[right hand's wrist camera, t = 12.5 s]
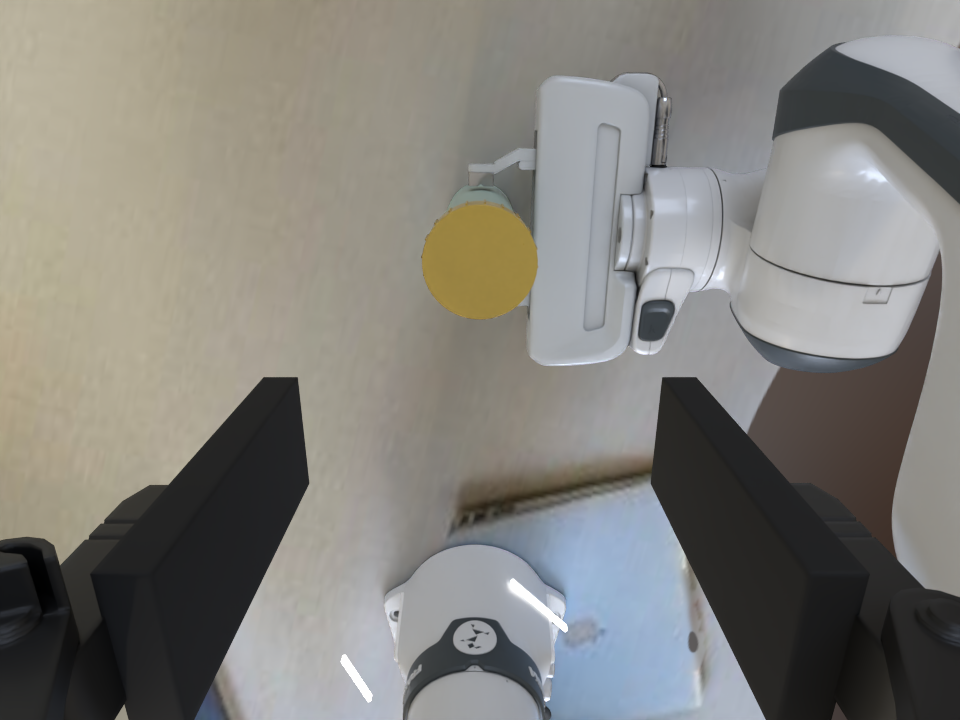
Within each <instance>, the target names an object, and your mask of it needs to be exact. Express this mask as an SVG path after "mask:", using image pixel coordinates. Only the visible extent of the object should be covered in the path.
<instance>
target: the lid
mask: <svg viewBox="0 0 960 720" xmlns="http://www.w3.org/2000/svg"><path fill="white" fill-rule="evenodd" d="M434 224H435V225H434V226H433V228H432V230H431V232H430V234H429V235H427V237H426V239H425V240H426V243H425V246H424V250H423V254H422V256H421V258H422V269H423V276H424V278H425V281H426V284H427V286H428V288H429V290H430V292H431V293H432V295H433V296H434V297H435V299H436V300H437V301H438V302H439V303H440V304H441V305H442V306H443V307H445V308H446V309H448V310H449V311H451V312H453V313H454V314H457V315H459V316H462V317H466V318H470V319H490V318H494V317H498V316H501V315H503V314H506V313H507V312H509V311H511V310H512V309H514V308H515V307H517V306H518V305H519V304H520V303H521V302H522V301H523V300H524V299H525V297H526V296H527V295H528V293H529V292H530V290H531V288H532V286H533V284H534V281H535V278H536V275H537V268H538V256H537V250H538V248H537V246H536V244H535V243H534V240H533V238H532V236H531V234H530V233H531V230H530V228H529V227H528V228H527V226H526V225H525V223H524V222H523V221H522V220H521V219H520V216H519V214H518V213H517V214H515V213H514V212H513V211H511V210H510V209H508V208H506V207H505V206H504V204H501V205H500V204H498V203H494V202H489V201H486V199H484V201H471V202H468V201H466V203H463V204H460V205H458V206H455V207H453V208H451V207H450V208H449V210H448V211H447V212H446V213H445V214H444V215H442V216H441V217H440V219H439V220H438V219H437V220H436V221H435V223H434Z"/></svg>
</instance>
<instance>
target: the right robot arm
mask: <svg viewBox="0 0 960 720" xmlns="http://www.w3.org/2000/svg"><path fill="white" fill-rule="evenodd" d="M308 485H309V476H308V467H307V458H306V449H305V440H304V431H303V422H302V413H301V403H300V394H299V385H298V377H264V378H263V379H262V380H261V381H260V382H259V383H258V384H257V386H256V387H255V388H254V389H253V390H252V391H251V392H250V394H249V395H248V396H247V397H246V398H245V399H244V400H243V401H242V403H241V404H240V405H239V406H238V407H237V408H236V409H235V410H234V412H233V413H232V414H231V415H230V416H229V417H228V418H227V420H226V421H225V422H224V423H223V424H222V425H221V426H220V427H219V429H218V430H217V431H216V432H215V433H214V434H213V435H212V436H211V438H210V439H209V440H208V441H207V442H206V443H205V444H204V446H203V447H202V448H201V449H200V450H199V451H198V452H197V453H196V455H195V456H194V457H193V458H192V459H191V460H190V461H189V462H188V464H187V465H186V466H185V467H184V468H183V469H182V470H181V471H180V473H179V474H178V475H177V476H176V477H175V478H174V479H173V481H172V482H171V483H170V484H169V485H149V486H147V487H146V488H144V489H142V490H141V491H139V492H137V493H136V494H134V495H132V496H131V497H129V498H127V499H125V500H124V501H122V502H121V503H120V504H119V505H118V506H117V508H116V509H115V510H114V511H113V512H112V513H111V514H110V515H109V516H108V517H107V518H106V519H105V520H104V521H105V522H104V524H100V525H99V526H98V527H97V528H96V529H95V530H94V531H93V532H92V533H91V534H90V535H89V540H84V542H83V543H82V544H81V545H80V546H79V547H78V548H77V549H76V550H75V551H74V552H73V553H72V554H71V555H70V556H69V557H68V558H67V559H66V560H65V561H64V562H63V563H62V564H61V565H59V561H58V557H57V554H56V550H55V547H54V545H53V544H51V543H50V542H48V541H47V540H45V539H41V538H32V537H21V538H13V539H5V540H1V541H0V720H115V718H116V716H117V715H118V713H119V712H120V710H121V708H122V707H123V705H124V704H125V708H126V712H127V715H128V719H129V720H194V719H195V717H196V715H197V713H198V711H199V709H200V707H201V705H202V702H203V700H204V698H205V696H206V694H207V692H208V690H209V688H210V686H211V684H212V682H213V680H214V678H215V676H216V674H217V672H218V670H219V668H220V666H221V663H222V661H223V659H224V657H225V655H226V653H227V651H228V649H229V647H230V645H231V643H232V641H233V639H234V637H235V635H236V633H237V631H238V629H239V627H240V625H241V622H242V620H243V618H244V616H245V614H246V612H247V610H248V608H249V606H250V604H251V602H252V600H253V598H254V596H255V594H256V592H257V590H258V588H259V586H260V583H261V581H262V579H263V577H264V575H265V573H266V571H267V569H268V567H269V565H270V563H271V561H272V559H273V557H274V555H275V553H276V551H277V549H278V547H279V544H280V542H281V540H282V538H283V536H284V534H285V532H286V530H287V528H288V526H289V524H290V522H291V520H292V518H293V516H294V514H295V512H296V510H297V508H298V505H299V503H300V501H301V499H302V497H303V495H304V493H305V491H306V489H307V487H308ZM651 485H652V487H653V489H654V491H655V493H656V495H657V497H658V499H659V501H660V503H661V505H662V508H663V510H664V512H665V514H666V516H667V518H668V520H669V522H670V524H671V526H672V528H673V530H674V532H675V534H676V536H677V538H678V540H679V542H680V544H681V547H682V549H683V551H684V553H685V555H686V557H687V559H688V561H689V563H690V565H691V567H692V569H693V571H694V573H695V575H696V577H697V579H698V581H699V583H700V586H701V588H702V590H703V592H704V594H705V596H706V598H707V600H708V602H709V604H710V606H711V608H712V610H713V612H714V614H715V616H716V618H717V620H718V622H719V625H720V627H721V629H722V631H723V633H724V635H725V637H726V639H727V641H728V643H729V645H730V647H731V649H732V651H733V653H734V655H735V657H736V659H737V661H738V663H739V666H740V668H741V670H742V672H743V674H744V676H745V678H746V680H747V682H748V684H749V686H750V688H751V690H752V692H753V694H754V696H755V698H756V700H757V702H758V705H759V707H760V709H761V711H762V713H763V715H764V717H765V719H766V720H831V719H832V715H833V712H834V708H835V704H836V702H837V704H838V705H839V707H840V708H841V710H842V712H843V713H844V715H845V716H846V718H847V719H848V720H960V597H958V596H955V595H952V594H948V593H945V592H942V591H939V590H932V589H925V588H924V587H923V586H922V585H921V584H920V583H919V582H918V581H917V580H916V579H915V578H914V577H913V576H912V574H911V573H910V572H909V571H908V570H907V569H906V568H905V567H904V566H903V565H902V564H901V563H900V562H899V561H898V560H897V559H896V558H895V557H894V556H893V555H892V554H891V553H890V552H889V551H888V550H887V549H886V548H885V547H884V546H883V545H882V544H881V543H880V542H879V541H878V540H877V539H876V538H875V537H874V538H873V537H872V536H871V533H870V532H869V530H868V529H867V528H866V527H865V526H864V525H863V524H862V523H861V522H857V521H856V517H855V516H854V515H853V514H852V513H851V512H850V511H849V510H848V509H847V508H846V507H845V506H844V505H843V504H842V503H841V502H840V501H839V500H838V499H837V498H835V497H833V496H832V495H830V494H828V493H827V492H825V491H823V490H822V489H820V488H818V487H816V486H815V485H813V484H811V483H789V482H788V481H787V479H786V478H785V477H784V476H783V475H782V474H781V473H780V471H779V470H778V469H777V468H776V467H775V466H774V465H773V464H772V462H771V461H770V460H769V459H768V458H767V457H766V456H765V455H764V453H763V452H762V451H761V450H760V449H759V448H758V447H757V446H756V444H755V443H754V442H753V441H752V440H751V439H750V438H749V437H748V435H747V434H746V433H745V432H744V431H743V430H742V429H741V427H740V426H739V425H738V424H737V423H736V422H735V421H734V420H733V418H732V417H731V416H730V415H729V414H728V413H727V412H726V410H725V409H724V408H723V407H722V406H721V405H720V404H719V403H718V401H717V400H716V399H715V398H714V397H713V396H712V395H711V394H710V392H709V391H708V390H707V389H706V388H705V387H704V386H703V384H702V383H701V382H700V381H699V380H698V379H697V378H696V377H662V385H661V394H660V403H659V413H658V422H657V431H656V440H655V449H654V458H653V467H652V476H651Z"/></svg>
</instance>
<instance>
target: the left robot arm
mask: <svg viewBox="0 0 960 720" xmlns="http://www.w3.org/2000/svg"><path fill="white" fill-rule="evenodd" d="M658 88H659V90H660V93H661V97H659V98H657V95H658ZM671 113H672V99H671V98H670V97H667V91H666V87H665V85H664V83H663V82H662V81H661V79H660V78H658V77H657V76H656V75H653V74H651V73H637V72H627V73H622V74H619V75H617V76H616V77H614V78H613V79H612V80H611V81H610V82H609V81H604V80H598V79H592V78H585V77H575V76H551V77H549V78H547V79H546V80H545V81H544V82H543V83H542V84H541V85H540V86H539V87H538V89H537V91H536V103H535V128H534V148H517V149H515V150H513V151H512V152H510V153H508V154H506V155H505V156H503V157H501V158H500V159H498V160H496V161H494V164H468V186H479V185H480V184H481V185H483V186H484V187H493V180H494V175H495V174H496V173H498V172H500V171H502V170H503V169H505V168H507V167H509V166H510V165H512V164H514V163H516V162H517V161H518V162H517V167H518V168H519V169H520V170H533V177H532V202H531V226H530V230H531V233H530V234H531V236H532V238H533V240H534V243H535V244H536V246H537V248H538V250H537V256H538V268H537V275H536V278H535V281H534V284H533V286H532V288H531V290H530V292H529V293H528V295H527V296H526V297H525V299H524V300H523V301H522V302H521V303H520V304H519V305H518V306H527V325H526V347H527V352H528V355H529V356H530V357H531V358H532V359H533V360H534V361H536V362H537V363H538V364H540V365H544V366H571V365H584V364H592V363H600V362H605V361H609V360H612V359H614V358H616V357H618V356H619V355H620V354H622V353H623V352H624V351H625V349H626V348H627V346H629V347H630V348H631V349H632V350H634V351H635V352H636V353H639V354H644V355H651V354H656V353H657V352H659V351H660V349H661V348H662V346H663V344H664V342H665V340H666V338H667V336H668V334H669V331H670V329H671V327H672V325H673V323H674V321H675V318H676V316H677V314H678V312H679V310H680V308H681V306H682V304H683V302H684V300H685V298H686V297H687V295H688V293H689V292H698V291H703V290H708V289H722V290H725V291H726V292H728V293H729V295H730V297H731V302H730V308H731V311H732V313H733V315H734V317H735V319H736V321H737V323H738V324H739V326H740V328H741V329H742V331H743V333H744V334H745V336H746V337H747V339H748V340H749V342H750V343H751V344H752V345H753V347H754V348H755V349H756V350H757V351H758V352H759V353H760V354H761V355H762V356H763V357H764V358H765V359H766V360H767V361H769V362H771V363H773V364H775V365H778V366H781V367H784V368H788V369H792V370H798V371H805V372H816V373H834V372H843V371H849V370H854V369H859V368H863V367H867V366H870V365H873V364H875V363H878V362H880V361H882V360H884V359H886V358H888V357H889V356H891V355H892V354H894V353H895V352H896V351H897V350H898V346H899V344H900V343H901V341H902V340H903V338H904V336H905V334H906V333H907V330H908V328H909V326H910V324H911V321H912V319H913V317H914V315H915V312H916V310H917V308H918V305H919V303H920V300H921V298H922V295H923V293H924V290H925V288H926V285H927V283H928V280H929V278H930V275H931V270H932V268H933V265H934V263H935V260H936V258H937V256H938V253H939V251H940V252H941V258H942V270H943V273H942V294H941V304H940V311H939V317H938V323H937V329H936V334H935V339H934V344H933V349H932V354H931V358H930V362H929V366H928V370H927V374H926V378H925V382H924V386H923V390H922V393H921V397H920V401H919V404H918V408H917V411H916V415H915V418H914V422H913V425H912V429H911V432H910V436H909V439H908V442H907V446H906V450H905V453H904V457H903V461H902V464H901V468H900V472H899V476H898V480H897V484H896V489H895V494H894V501H893V509H892V532H893V540H894V546H895V551H896V555H897V559H898V561H899V562H900V563H901V564H902V565H903V566H904V567H905V568H906V569H907V570H908V571H909V572H910V573H911V574H912V576H913V577H914V578H915V579H916V580H917V581H918V582H919V583H920V584H921V585H922V586H923V587H924V588H925V589H932V590H939V591H942V592H945V593H948V594H952V595H955V596H958V597H960V49H959V48H957V47H955V46H953V45H950V44H948V43H945V42H942V41H938V40H934V39H929V38H923V37H916V36H901V35H885V36H874V37H866V38H861V39H856V40H852V41H849V42H844V43H838V44H835V45H832V46H831V47H829V48H828V49H827V50H825V51H824V52H822V53H821V54H820V55H818V56H817V57H816V58H815V59H813V60H812V61H811V62H810V63H808V64H807V65H806V66H805V67H804V68H803V69H801V70H800V71H799V72H798V73H797V74H796V75H795V76H794V77H793V78H792V79H791V80H790V81H789V82H788V83H787V84H786V85H785V86H784V87H783V88H782V89H781V90H780V93H779V99H778V106H777V112H776V118H775V124H774V131H773V137H772V140H773V141H774V142H773V147H772V151H771V155H770V159H769V163H768V167H767V169H761V170H757V171H753V172H750V173H744V174H734V173H728V172H725V171H722V170H719V169H716V168H709V167H667V166H666V160H667V149H668V127H669V126H668V125H669V118H671ZM654 125H655V126H654ZM645 165H651V166H650V167H645ZM384 609H385V612H386V616H387V619H388V622H389V626H390V629H391V633H392V636H393V639H394V643H395V650H394V660H395V661H396V662H398V664H399V669H400V672H401V675H402V677H403V680H404V682H405V685H406V686H405V690H404V696H403V704H404V705H403V720H549V719H550V718H551V712H550V710H549V709H548V708H547V707H546V706H545V702H547V701H549V700H550V697H551V689H552V683H551V678H553V676H554V672H555V665H554V661H555V649H554V645H555V642H556V639H557V635H558V632H559V629H560V628H561V629H562V630H563V631H564V632H566V631H568V630H567V625H566V624H565V623H564V622H563V621H562V620H563V617H564V614H565V611H566V599H565V597H564V596H563V595H562V594H561V593H560V592H558V591H557V590H555V589H553V588H551V587H550V586H548V585H546V584H545V583H543V582H542V580H541V579H540V578H539V577H538V575H537V574H536V573H535V571H534V570H533V569H532V568H531V567H530V566H529V565H528V564H527V563H526V562H525V561H524V560H522V559H521V558H520V557H518V556H516V555H515V554H513V553H511V552H508V551H506V550H503V549H501V548H497V547H493V546H487V545H463V546H457V547H453V548H449V549H446V550H444V551H441V552H439V553H437V554H435V555H434V556H432V557H430V558H429V559H428V560H426V561H425V562H424V563H423V564H422V565H421V566H420V567H419V568H418V569H417V570H416V571H415V573H414V574H413V575H412V576H411V578H410V579H409V580H408V581H407V582H406V583H404V584H402V585H400V586H398V587H396V588H394V589H393V590H391V591H390V592H388V593H387V594H386V596H385V598H384ZM396 611H399V612H396ZM552 612H553V613H552ZM341 663H342V664H343V666H344V667H345V669H346V670H347V672H348V673H349V675H350V676H351V678H352V679H353V680H354V682H355V683H356V685H357V686H358V688H359V689H360V691H361V692H362V694H363V695H364V697H365V698H366V700H367V701H368V702H370V701H371V698H372V694H371V692H370V691H369V689H368V688H367V686H366V685H365V683H364V682H363V680H362V679H361V677H360V676H359V674H358V673H357V671H356V670H355V668H354V667H353V665H352V664H351V663H350V661H349V660H348V658H347V657H346V655H343V656H342V660H341Z"/></svg>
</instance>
